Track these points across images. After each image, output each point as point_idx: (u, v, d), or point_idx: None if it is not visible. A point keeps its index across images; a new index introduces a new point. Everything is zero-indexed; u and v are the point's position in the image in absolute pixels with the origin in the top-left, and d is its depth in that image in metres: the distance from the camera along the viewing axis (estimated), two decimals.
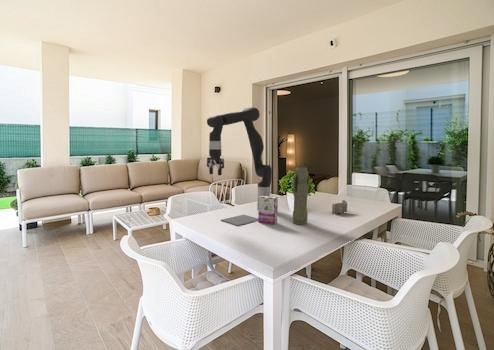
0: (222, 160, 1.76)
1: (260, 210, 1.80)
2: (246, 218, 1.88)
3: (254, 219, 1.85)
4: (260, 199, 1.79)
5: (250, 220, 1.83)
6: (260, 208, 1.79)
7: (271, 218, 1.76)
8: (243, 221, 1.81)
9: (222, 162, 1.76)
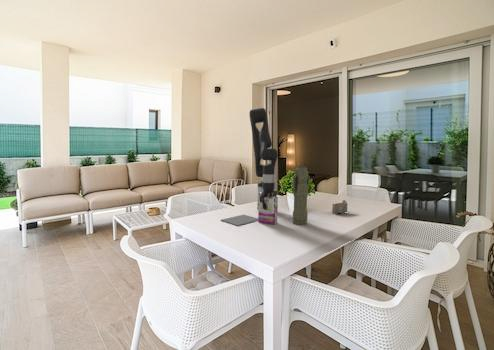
0: None
1: (260, 210, 1.80)
2: (246, 218, 1.88)
3: (254, 219, 1.85)
4: None
5: (250, 220, 1.83)
6: (260, 208, 1.79)
7: (271, 218, 1.76)
8: (243, 221, 1.81)
9: None
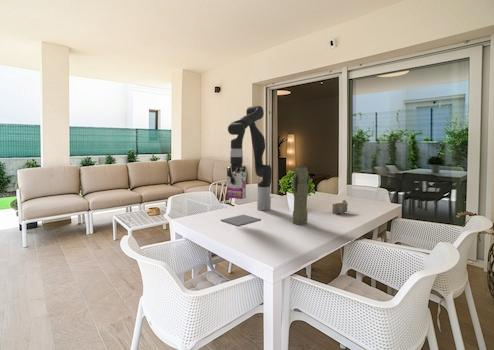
0: None
1: (228, 185, 1.80)
2: (246, 218, 1.88)
3: (254, 219, 1.85)
4: None
5: (250, 220, 1.83)
6: (228, 183, 1.80)
7: (239, 193, 1.77)
8: (243, 221, 1.81)
9: None
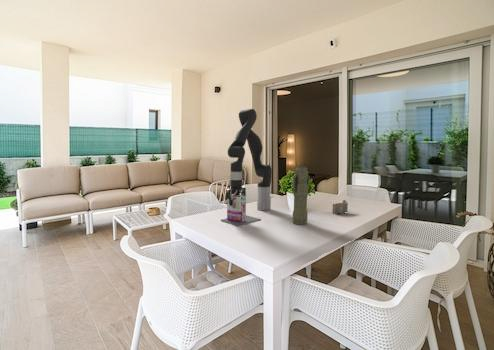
0: None
1: (229, 208, 1.82)
2: (246, 218, 1.88)
3: (254, 219, 1.85)
4: None
5: (250, 220, 1.83)
6: (228, 206, 1.82)
7: (239, 216, 1.78)
8: None
9: None
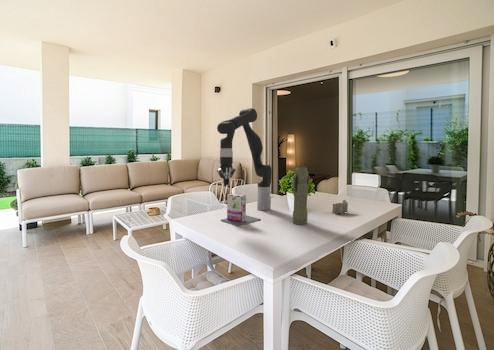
0: None
1: (229, 208, 1.82)
2: (246, 218, 1.88)
3: (254, 219, 1.85)
4: (228, 197, 1.81)
5: (250, 220, 1.83)
6: (228, 206, 1.82)
7: (239, 216, 1.78)
8: None
9: None
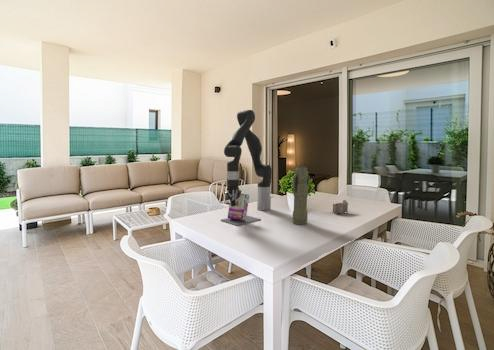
0: None
1: (231, 206, 1.84)
2: (246, 218, 1.88)
3: (254, 219, 1.85)
4: None
5: (250, 220, 1.83)
6: None
7: (240, 214, 1.79)
8: (243, 221, 1.81)
9: None
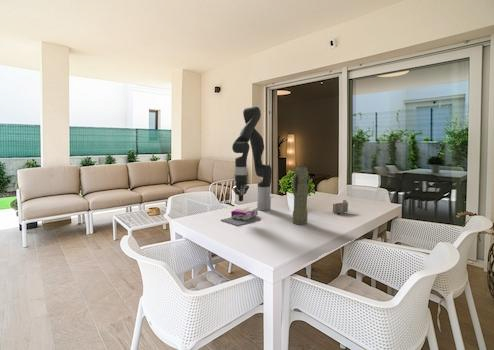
0: None
1: (239, 209, 1.93)
2: None
3: (254, 219, 1.85)
4: (244, 207, 1.99)
5: (250, 220, 1.83)
6: (240, 208, 1.94)
7: (246, 211, 1.85)
8: (243, 221, 1.81)
9: None
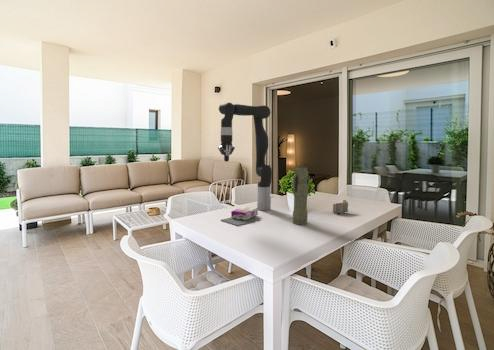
0: None
1: (239, 209, 1.93)
2: None
3: (254, 219, 1.85)
4: (244, 207, 1.99)
5: (250, 220, 1.83)
6: (240, 208, 1.94)
7: (246, 211, 1.85)
8: (243, 221, 1.81)
9: None
